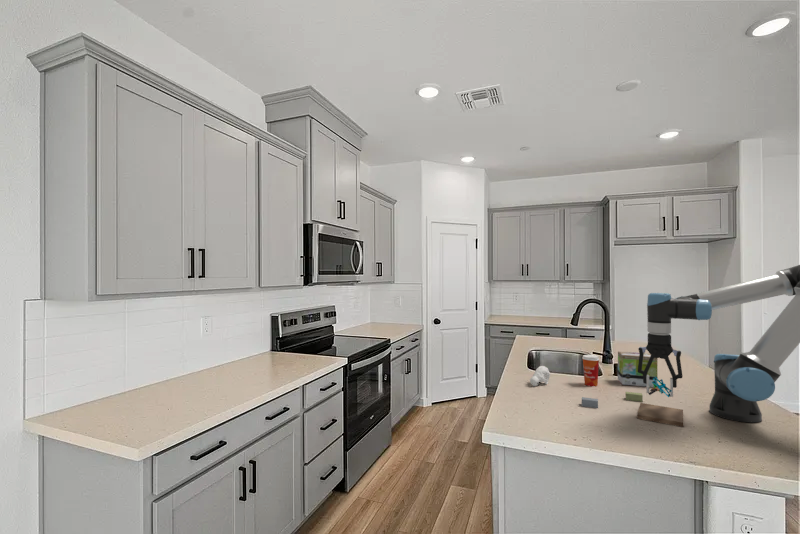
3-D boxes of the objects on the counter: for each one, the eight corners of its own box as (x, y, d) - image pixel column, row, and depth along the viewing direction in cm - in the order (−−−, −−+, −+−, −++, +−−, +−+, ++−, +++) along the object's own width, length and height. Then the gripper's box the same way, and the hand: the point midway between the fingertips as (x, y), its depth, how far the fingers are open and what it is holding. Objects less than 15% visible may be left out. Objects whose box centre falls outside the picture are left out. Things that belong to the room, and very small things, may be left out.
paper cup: (578, 383, 191) (578, 355, 191) (589, 381, 194) (589, 353, 194) (592, 388, 184) (592, 358, 184) (603, 386, 187) (603, 356, 187)
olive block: (641, 400, 167) (641, 393, 167) (642, 402, 164) (642, 395, 164) (625, 398, 169) (625, 391, 169) (626, 400, 166) (626, 393, 166)
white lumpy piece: (550, 366, 191) (536, 372, 184) (552, 383, 191) (537, 390, 184) (539, 363, 196) (525, 369, 189) (540, 380, 196) (526, 387, 189)
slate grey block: (598, 406, 159) (597, 399, 159) (598, 408, 157) (598, 401, 157) (581, 404, 162) (581, 397, 162) (581, 406, 159) (581, 399, 159)
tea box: (622, 385, 188) (622, 354, 188) (617, 380, 198) (617, 350, 198) (658, 388, 184) (657, 356, 184) (651, 382, 193) (650, 352, 194)
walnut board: (683, 413, 150) (683, 409, 150) (683, 427, 137) (683, 422, 137) (640, 406, 158) (640, 402, 158) (637, 418, 145) (637, 414, 145)
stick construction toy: (677, 393, 142) (661, 374, 145) (660, 404, 142) (644, 384, 145) (665, 393, 153) (650, 375, 156) (649, 403, 153) (635, 385, 156)
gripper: (691, 334, 145) (691, 396, 145) (630, 330, 157) (630, 387, 157) (691, 337, 139) (692, 401, 139) (628, 332, 151) (628, 391, 151)
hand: (659, 393), depth 148 cm, fingers closed on stick construction toy, 7 cm apart
